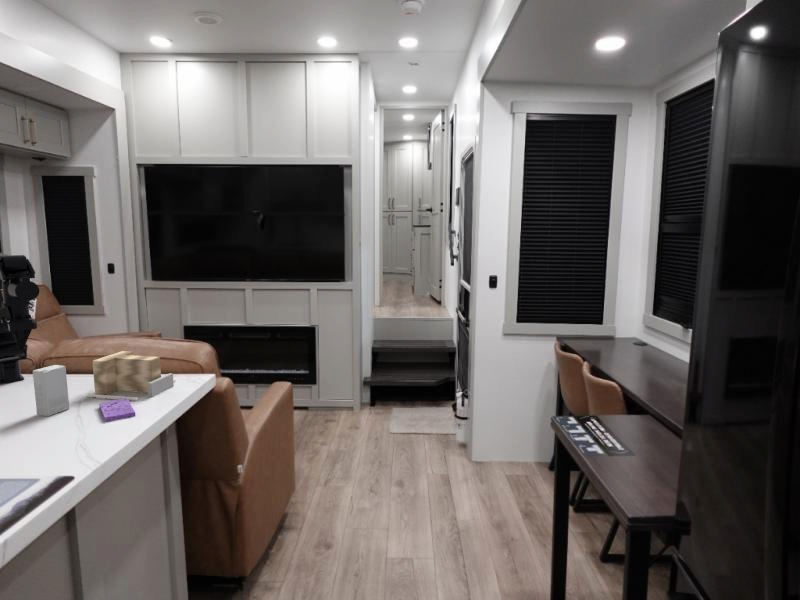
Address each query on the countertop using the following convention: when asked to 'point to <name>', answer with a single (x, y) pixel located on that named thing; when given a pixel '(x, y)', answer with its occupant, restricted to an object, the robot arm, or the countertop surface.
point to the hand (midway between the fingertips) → (21, 349)
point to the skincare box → (51, 390)
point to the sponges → (116, 409)
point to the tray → (153, 388)
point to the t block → (125, 372)
